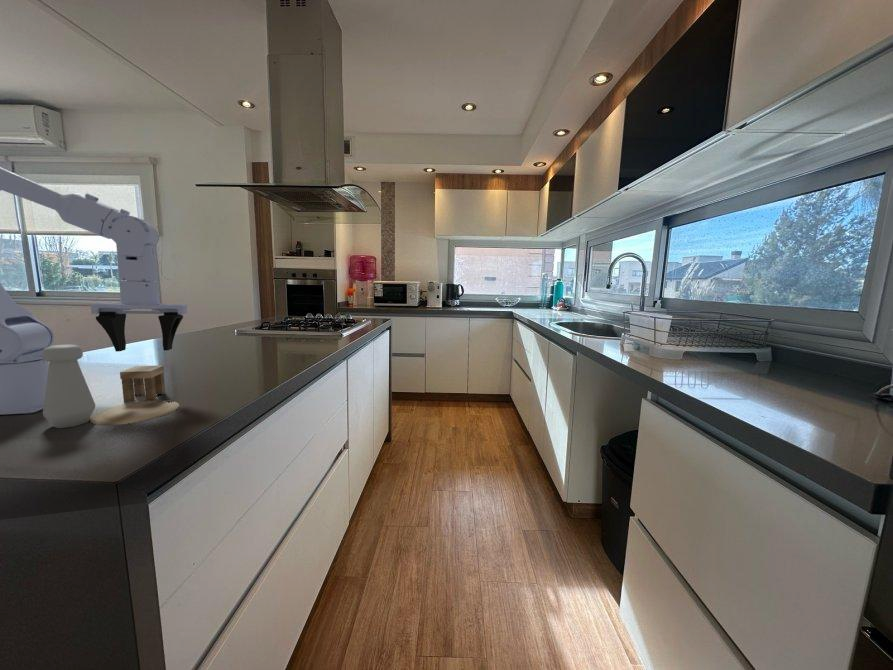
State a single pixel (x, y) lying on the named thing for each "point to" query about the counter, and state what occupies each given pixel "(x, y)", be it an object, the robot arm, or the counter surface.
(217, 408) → the counter surface
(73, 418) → the salt shaker
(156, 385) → the stool
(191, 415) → the counter surface
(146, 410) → the trivet
